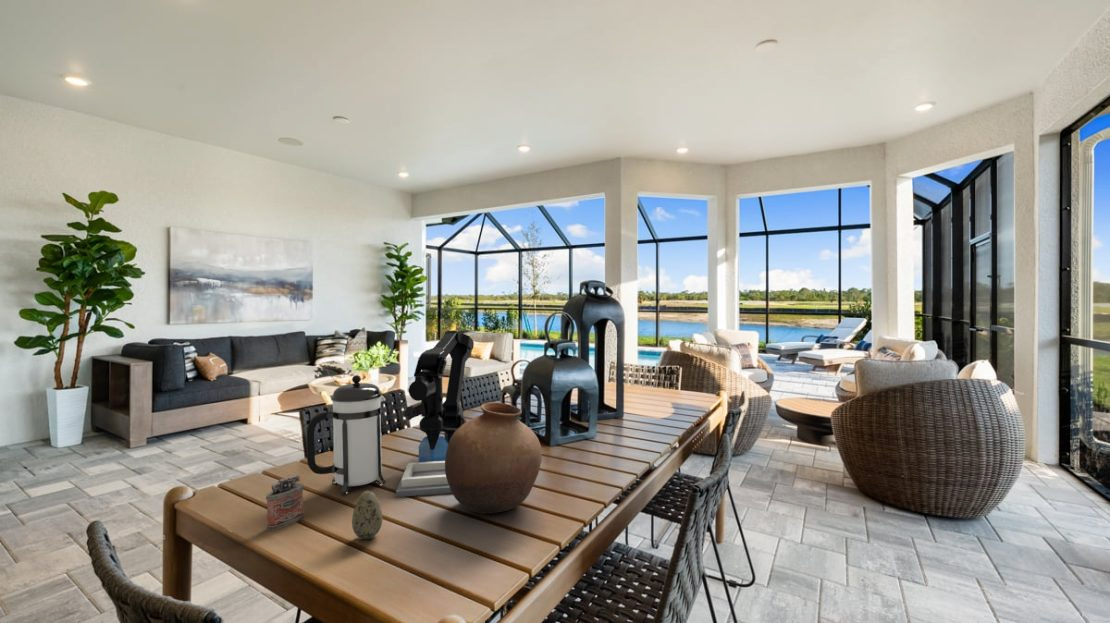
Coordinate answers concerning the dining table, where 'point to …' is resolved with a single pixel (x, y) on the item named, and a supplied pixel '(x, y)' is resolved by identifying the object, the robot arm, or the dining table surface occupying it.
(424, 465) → the socket board
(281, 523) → the lighter
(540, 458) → the pottery
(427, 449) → the perfume bottle
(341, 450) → the coffee press
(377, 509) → the decorative egg
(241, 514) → the dining table surface
